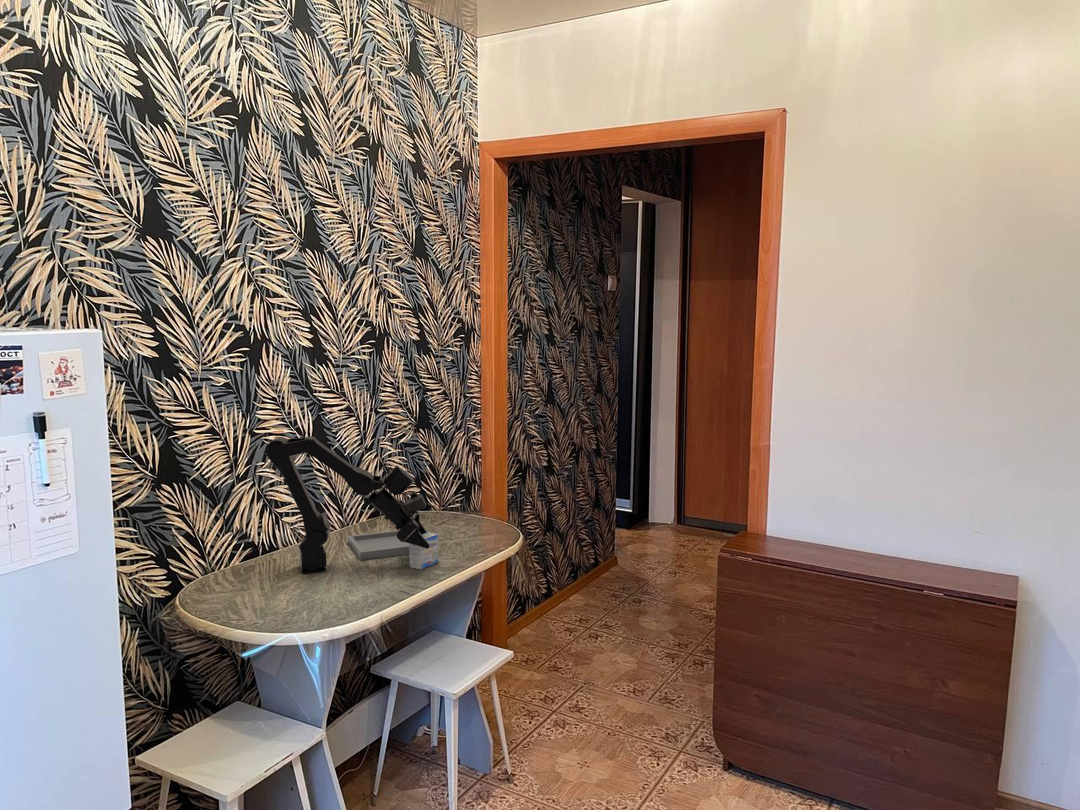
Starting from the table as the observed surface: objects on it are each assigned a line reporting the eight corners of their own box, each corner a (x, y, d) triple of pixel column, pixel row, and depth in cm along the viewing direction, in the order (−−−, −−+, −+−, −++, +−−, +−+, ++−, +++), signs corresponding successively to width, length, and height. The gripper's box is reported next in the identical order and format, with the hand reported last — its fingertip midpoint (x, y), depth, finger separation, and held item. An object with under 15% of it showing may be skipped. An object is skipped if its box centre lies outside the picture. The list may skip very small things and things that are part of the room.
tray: (360, 560, 221) (360, 552, 221) (347, 543, 237) (347, 535, 237) (432, 551, 231) (432, 543, 230) (415, 535, 247) (415, 528, 246)
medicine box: (421, 570, 214) (421, 540, 213) (409, 567, 216) (408, 538, 215) (438, 562, 220) (438, 534, 219) (426, 560, 223) (426, 531, 222)
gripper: (408, 494, 206) (449, 531, 209) (410, 479, 224) (447, 514, 227) (379, 523, 205) (420, 560, 208) (383, 505, 224) (421, 540, 227)
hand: (428, 542), depth 218 cm, fingers open, 9 cm apart
